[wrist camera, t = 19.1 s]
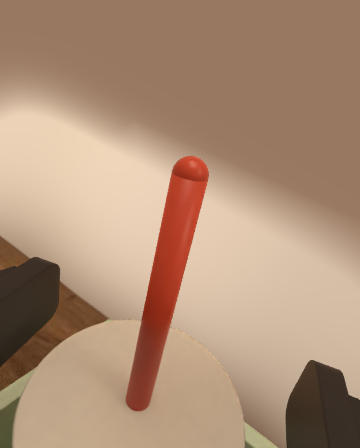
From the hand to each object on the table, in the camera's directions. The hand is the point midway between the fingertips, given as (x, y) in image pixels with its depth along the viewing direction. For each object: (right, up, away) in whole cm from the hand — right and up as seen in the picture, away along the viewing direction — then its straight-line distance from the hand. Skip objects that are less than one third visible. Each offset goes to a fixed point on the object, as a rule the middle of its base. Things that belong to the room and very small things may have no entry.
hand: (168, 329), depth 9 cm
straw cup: (-3, -11, +4) cm, 12 cm away
